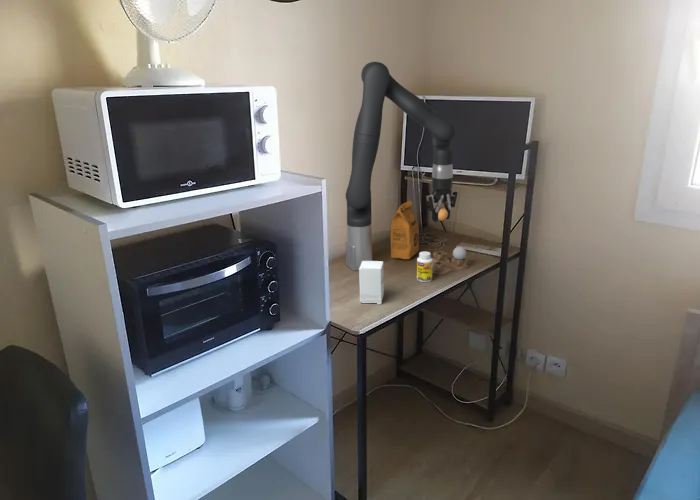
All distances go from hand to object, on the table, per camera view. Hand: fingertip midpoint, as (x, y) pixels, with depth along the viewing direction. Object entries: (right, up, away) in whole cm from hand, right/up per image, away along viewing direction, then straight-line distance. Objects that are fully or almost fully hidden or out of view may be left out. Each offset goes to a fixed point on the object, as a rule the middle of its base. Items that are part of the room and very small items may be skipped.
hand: (440, 219), depth 206 cm
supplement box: (-27, -28, -25) cm, 46 cm away
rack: (+3, -19, -2) cm, 19 cm away
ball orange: (0, +2, -1) cm, 2 cm away
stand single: (+1, -16, +6) cm, 17 cm away
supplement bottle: (-8, -22, -10) cm, 26 cm away
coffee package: (-12, -14, +14) cm, 23 cm away
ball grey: (+7, -13, -2) cm, 15 cm away
